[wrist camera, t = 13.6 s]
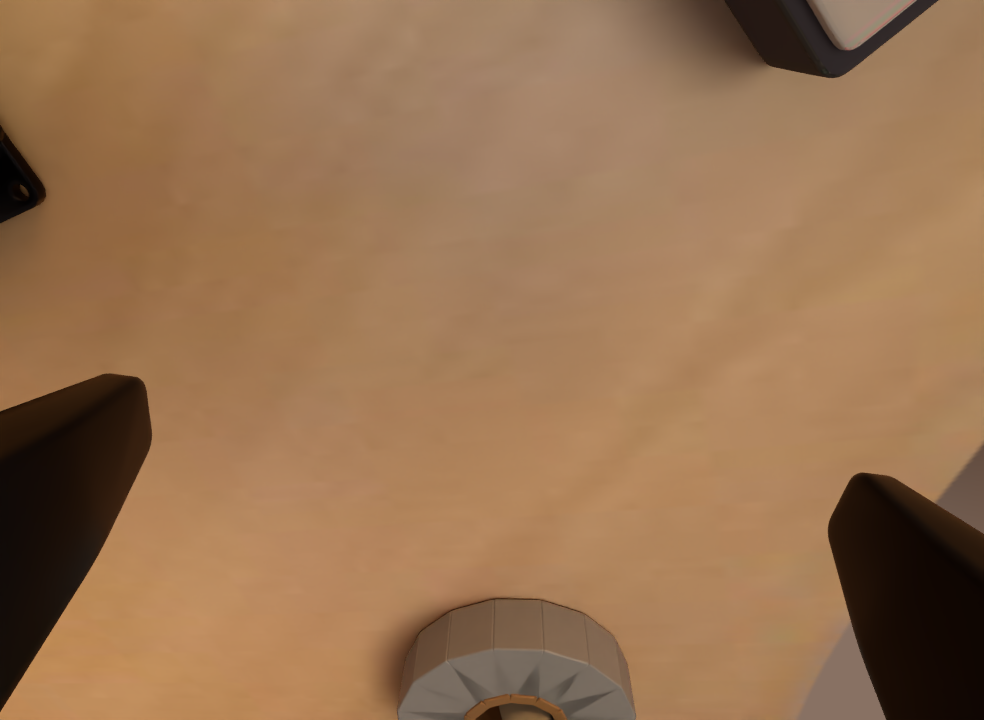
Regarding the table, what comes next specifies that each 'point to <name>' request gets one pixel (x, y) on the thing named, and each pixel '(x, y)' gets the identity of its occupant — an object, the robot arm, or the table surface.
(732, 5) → the calculator
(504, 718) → the pencil
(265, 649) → the table surface
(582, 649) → the tape
